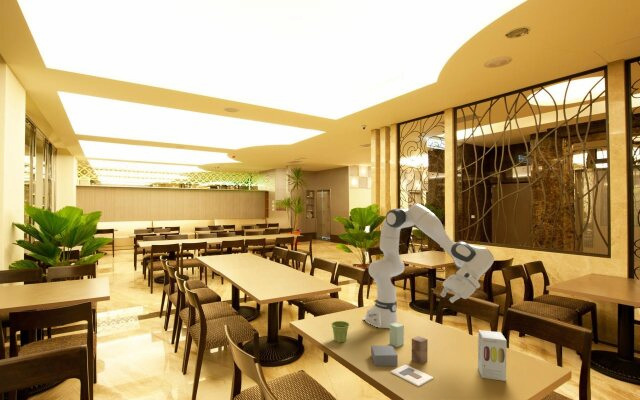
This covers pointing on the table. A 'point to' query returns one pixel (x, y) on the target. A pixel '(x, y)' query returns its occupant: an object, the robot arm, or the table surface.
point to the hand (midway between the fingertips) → (446, 298)
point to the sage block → (396, 334)
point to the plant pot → (340, 330)
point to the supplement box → (492, 355)
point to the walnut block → (419, 349)
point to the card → (412, 375)
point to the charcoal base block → (384, 356)
